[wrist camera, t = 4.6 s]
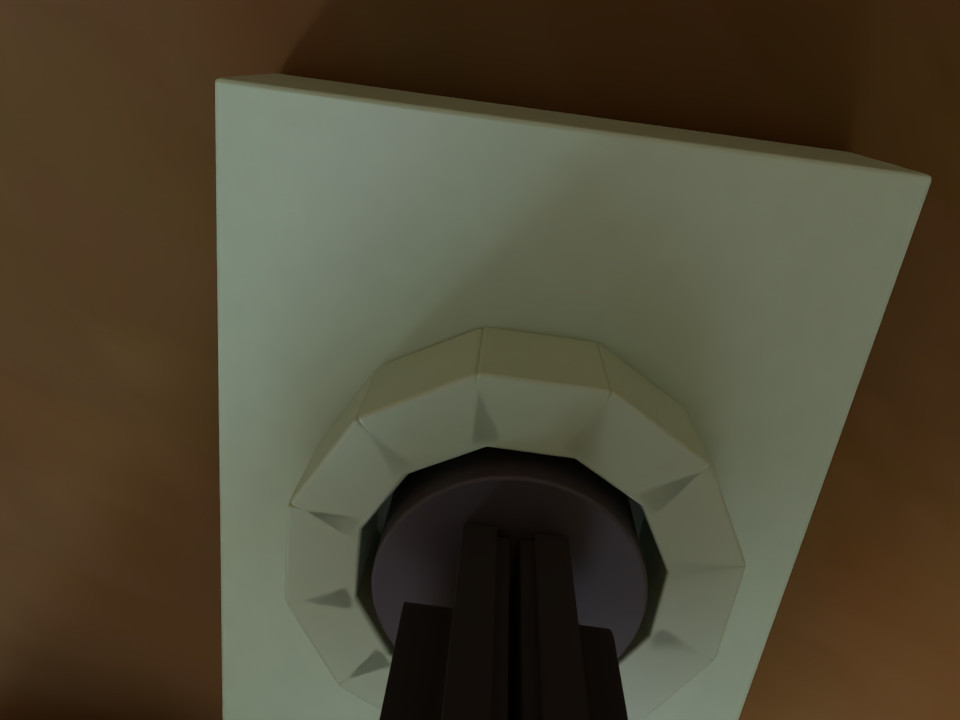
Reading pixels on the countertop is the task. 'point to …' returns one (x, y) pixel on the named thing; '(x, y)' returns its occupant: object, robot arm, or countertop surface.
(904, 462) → the countertop surface
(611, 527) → the button
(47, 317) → the countertop surface
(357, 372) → the knob plate
